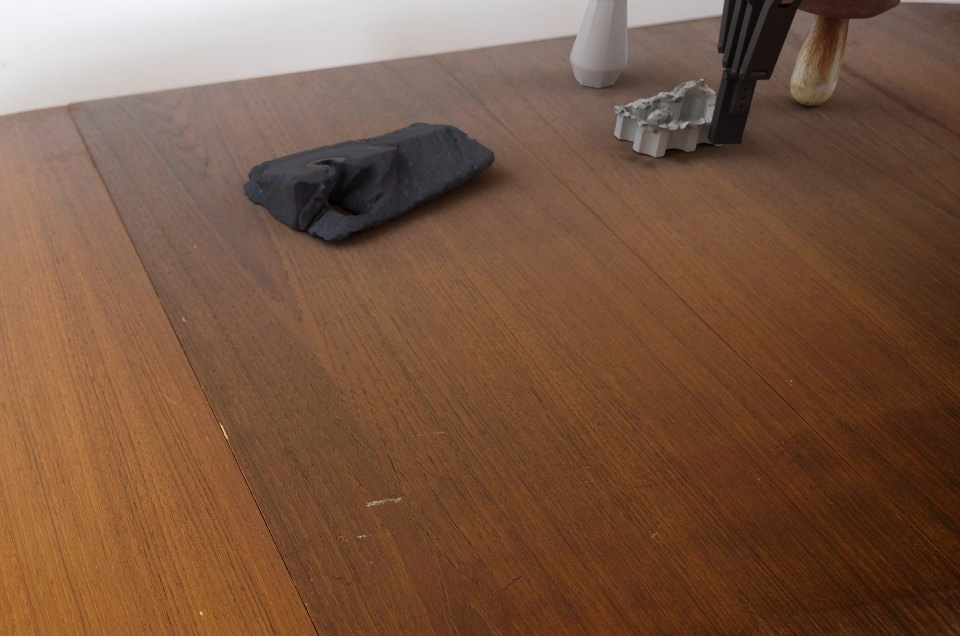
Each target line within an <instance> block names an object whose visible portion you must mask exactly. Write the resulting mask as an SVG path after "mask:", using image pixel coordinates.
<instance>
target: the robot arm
mask: <svg viewBox="0 0 960 636" xmlns="http://www.w3.org/2000/svg"><path fill="white" fill-rule="evenodd" d="M802 1H803V0H723V7H722V14H721V20H720V29H719V35H718V42H717V53H718V55H719V54H723V55H722V59H721V66H722V68H723V70H722V75H721V77H720V78H721V79H720V83H719V87H718V90H717V91H718V92H717V94H716V97H717V99H716V104H715V108H714V112H713V116H712V120H711V125H710V129H709V133H708V137H707V138H708V140H709V141H710V143H711V144H710V145H712V146H715V145H718V144H723V145H741V144H742V140H743V136H744V133H745V130H746V125H747V120H748V117H749V114H750V109H751V106H752V101H753V98H754V95H755V90H756V86H757V82H758V81H769V80H770V79H771V78H772V76H773V72H774V70H775V68H776V65H777V62H778V60H779V58H780V55H781V52H782V49H783V47H784V45H785V42H786V39H787V37H788V35H789V32H790V29H791V27H792V24H793V21H794V19H795V16H796V14H797V11H798V10H799V9H798V7H799V5H800V4H801V2H802Z"/></svg>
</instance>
